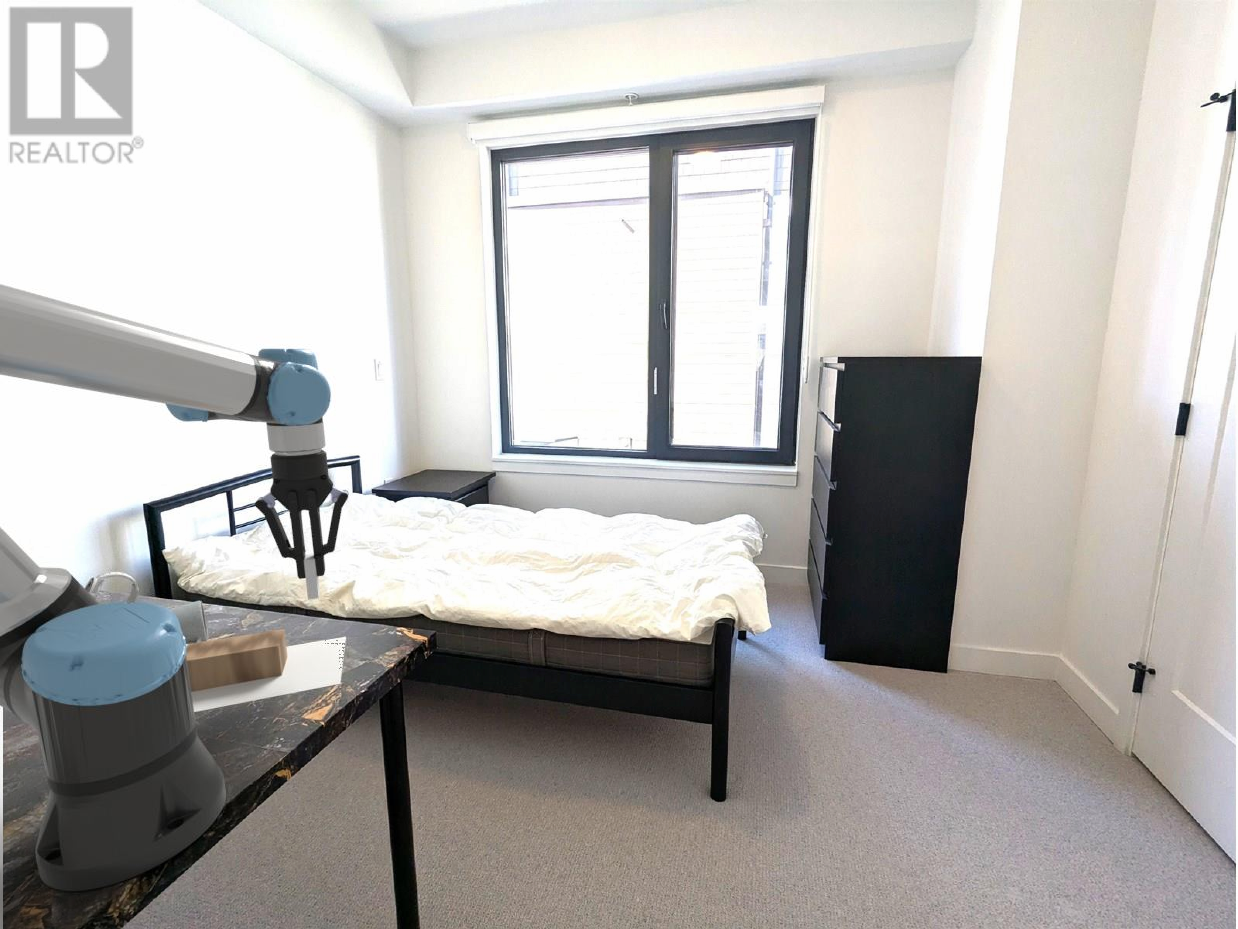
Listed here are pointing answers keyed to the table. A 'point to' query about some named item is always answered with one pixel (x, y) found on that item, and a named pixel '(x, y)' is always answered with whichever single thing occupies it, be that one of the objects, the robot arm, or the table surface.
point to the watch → (96, 583)
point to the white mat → (282, 677)
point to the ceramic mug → (192, 622)
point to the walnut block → (236, 659)
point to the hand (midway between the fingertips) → (314, 595)
